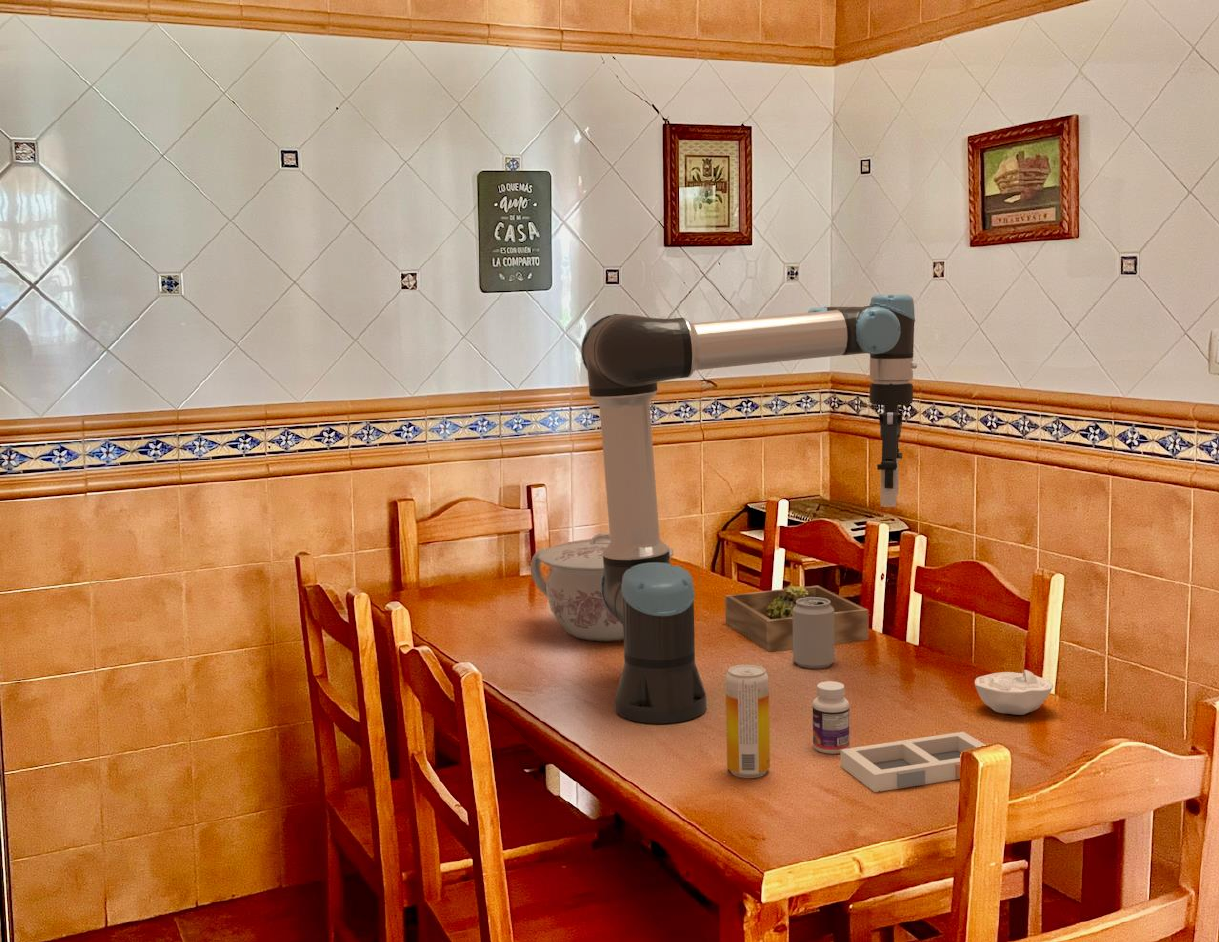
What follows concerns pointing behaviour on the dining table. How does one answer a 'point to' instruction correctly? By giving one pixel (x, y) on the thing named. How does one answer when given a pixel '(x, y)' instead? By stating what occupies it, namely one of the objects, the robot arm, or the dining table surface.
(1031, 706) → the cell model
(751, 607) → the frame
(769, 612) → the green leafy plant
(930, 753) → the socket block
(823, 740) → the pill bottle
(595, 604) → the chamber pot
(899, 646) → the dining table surface
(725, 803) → the dining table surface
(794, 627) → the can
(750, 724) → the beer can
